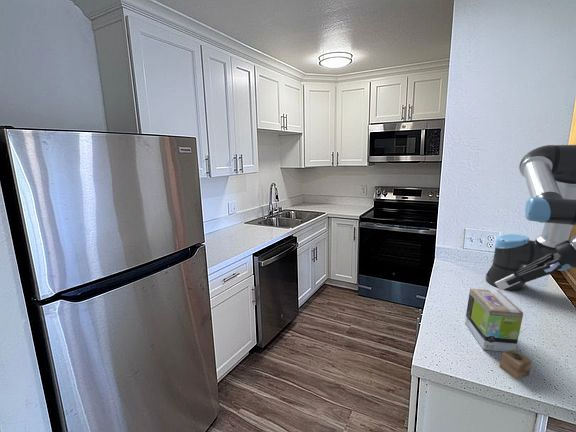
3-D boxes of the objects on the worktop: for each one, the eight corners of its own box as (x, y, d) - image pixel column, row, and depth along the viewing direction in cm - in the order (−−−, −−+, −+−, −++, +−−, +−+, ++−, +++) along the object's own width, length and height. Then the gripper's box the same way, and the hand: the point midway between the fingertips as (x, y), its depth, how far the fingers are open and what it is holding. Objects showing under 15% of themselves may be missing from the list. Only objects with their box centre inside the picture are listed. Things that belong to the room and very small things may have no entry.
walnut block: (511, 363, 90) (514, 348, 89) (528, 375, 86) (532, 360, 84) (499, 367, 89) (502, 352, 88) (516, 379, 84) (519, 364, 83)
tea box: (516, 353, 94) (525, 312, 91) (482, 350, 96) (489, 310, 92) (493, 325, 109) (499, 288, 105) (463, 323, 110) (468, 287, 106)
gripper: (592, 269, 76) (503, 304, 91) (589, 254, 85) (509, 288, 100) (568, 245, 78) (485, 283, 93) (568, 234, 88) (493, 270, 103)
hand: (498, 286), depth 97 cm, fingers closed
